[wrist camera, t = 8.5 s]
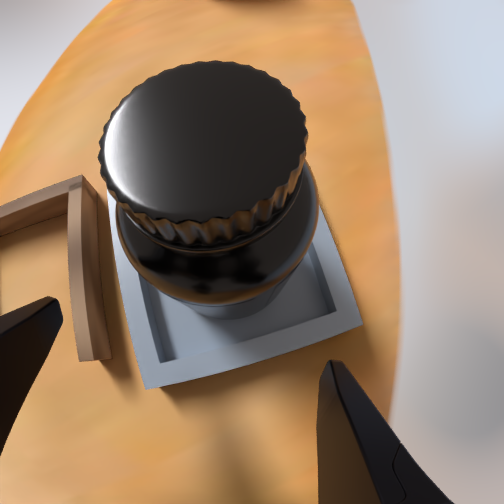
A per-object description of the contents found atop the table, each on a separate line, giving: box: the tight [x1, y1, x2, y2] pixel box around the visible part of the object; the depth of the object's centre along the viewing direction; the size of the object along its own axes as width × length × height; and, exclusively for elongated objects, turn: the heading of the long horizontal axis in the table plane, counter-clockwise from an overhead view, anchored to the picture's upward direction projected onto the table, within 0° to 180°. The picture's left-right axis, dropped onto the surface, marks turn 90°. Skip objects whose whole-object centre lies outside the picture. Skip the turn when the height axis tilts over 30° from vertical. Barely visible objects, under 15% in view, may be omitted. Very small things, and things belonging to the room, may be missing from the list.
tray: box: [107, 189, 363, 390], centre depth 17 cm, size 12×12×2 cm
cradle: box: [0, 175, 112, 362], centre depth 16 cm, size 12×12×2 cm
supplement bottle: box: [98, 60, 319, 320], centre depth 12 cm, size 7×7×12 cm
